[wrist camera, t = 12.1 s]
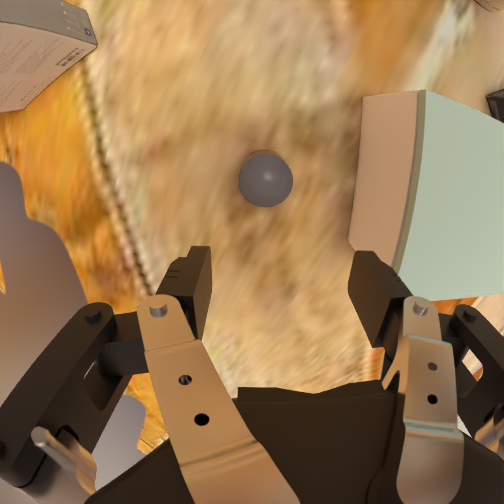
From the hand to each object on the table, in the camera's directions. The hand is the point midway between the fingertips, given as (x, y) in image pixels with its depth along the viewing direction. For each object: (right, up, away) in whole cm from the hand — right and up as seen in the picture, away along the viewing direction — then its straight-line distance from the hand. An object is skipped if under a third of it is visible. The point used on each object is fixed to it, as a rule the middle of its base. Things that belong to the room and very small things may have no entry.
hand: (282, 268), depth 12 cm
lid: (+20, +5, +8) cm, 22 cm away
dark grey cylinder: (0, +10, +19) cm, 22 cm away
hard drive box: (-28, +27, +11) cm, 41 cm away
